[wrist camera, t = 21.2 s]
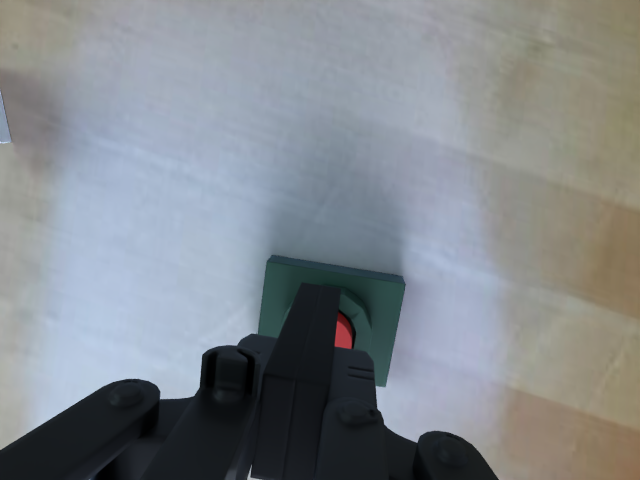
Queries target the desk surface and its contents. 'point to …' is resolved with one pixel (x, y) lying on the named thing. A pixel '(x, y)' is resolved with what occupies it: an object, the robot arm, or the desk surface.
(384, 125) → the desk surface
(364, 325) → the dark green button base
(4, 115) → the white cube
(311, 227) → the desk surface
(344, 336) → the button
